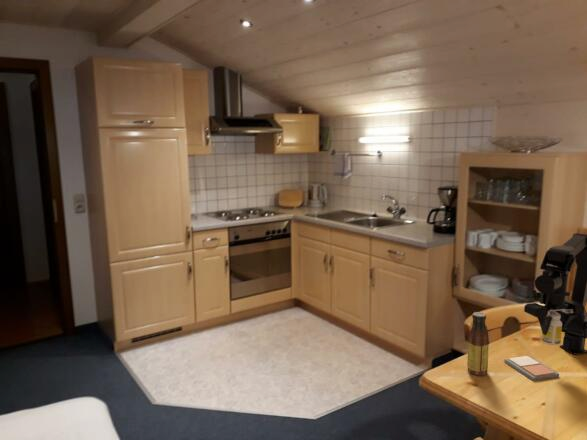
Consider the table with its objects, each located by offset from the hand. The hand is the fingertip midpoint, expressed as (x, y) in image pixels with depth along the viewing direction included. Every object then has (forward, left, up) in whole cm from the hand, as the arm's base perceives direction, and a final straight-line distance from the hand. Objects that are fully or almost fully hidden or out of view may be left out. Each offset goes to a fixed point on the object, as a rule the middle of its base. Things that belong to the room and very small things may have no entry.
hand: (551, 333), depth 152 cm
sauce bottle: (+24, -5, -13) cm, 27 cm away
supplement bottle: (0, 0, -3) cm, 3 cm away
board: (+5, -2, -13) cm, 14 cm away
